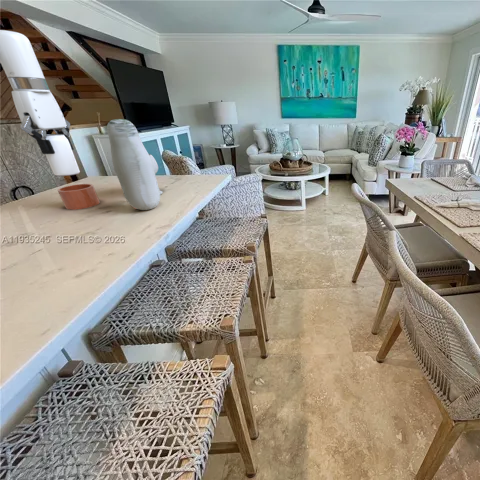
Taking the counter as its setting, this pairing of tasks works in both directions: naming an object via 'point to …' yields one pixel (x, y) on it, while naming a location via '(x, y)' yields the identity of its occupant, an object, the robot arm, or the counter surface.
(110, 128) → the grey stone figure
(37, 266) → the counter surface
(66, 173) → the can
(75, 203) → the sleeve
